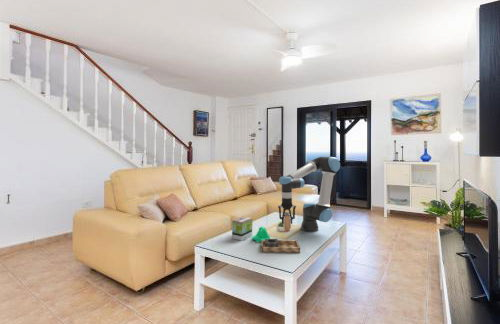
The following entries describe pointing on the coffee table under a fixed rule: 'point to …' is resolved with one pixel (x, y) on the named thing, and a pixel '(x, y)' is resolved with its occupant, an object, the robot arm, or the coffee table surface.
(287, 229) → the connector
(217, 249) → the coffee table surface
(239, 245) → the coffee table surface
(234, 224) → the tea box
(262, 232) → the green lumpy mound
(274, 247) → the inlet box
